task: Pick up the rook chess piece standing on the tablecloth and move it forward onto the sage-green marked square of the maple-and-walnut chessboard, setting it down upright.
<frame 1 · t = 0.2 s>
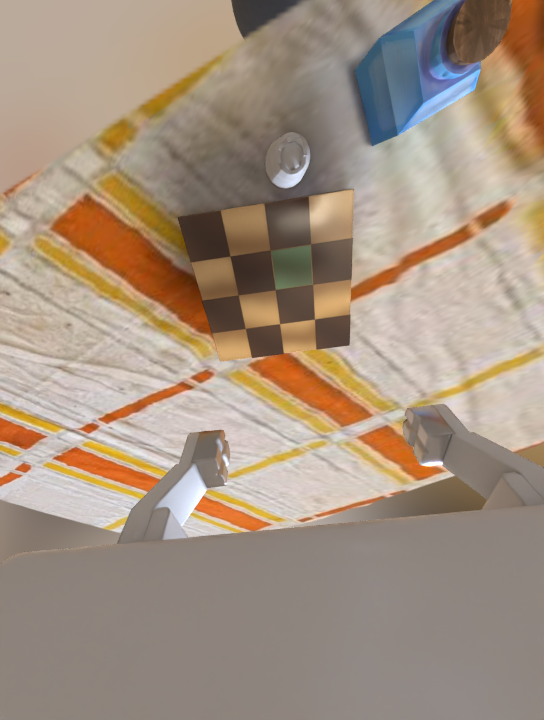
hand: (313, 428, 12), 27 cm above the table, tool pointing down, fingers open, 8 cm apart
perfume bottle: (394, 91, 25), on the table
chessboard: (275, 287, 36), on the table
rook chess piece: (285, 164, 28), on the table
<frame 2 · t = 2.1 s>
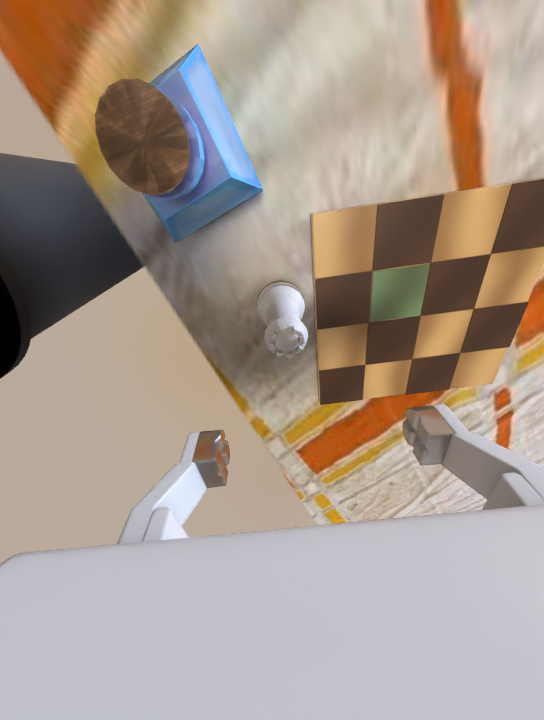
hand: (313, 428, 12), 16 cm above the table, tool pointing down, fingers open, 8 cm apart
perfume bottle: (206, 167, 19), on the table
chessboard: (415, 311, 26), on the table
rook chess piece: (280, 302, 25), on the table
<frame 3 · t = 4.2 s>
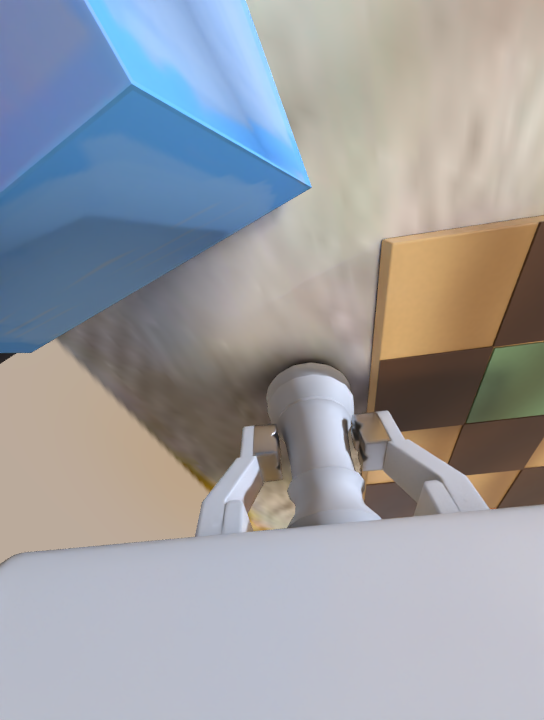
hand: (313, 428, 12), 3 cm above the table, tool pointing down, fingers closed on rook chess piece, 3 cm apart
perfume bottle: (156, 139, 8), on the table
chessboard: (540, 400, 15), on the table
rook chess piece: (306, 389, 14), on the table, touching gripper
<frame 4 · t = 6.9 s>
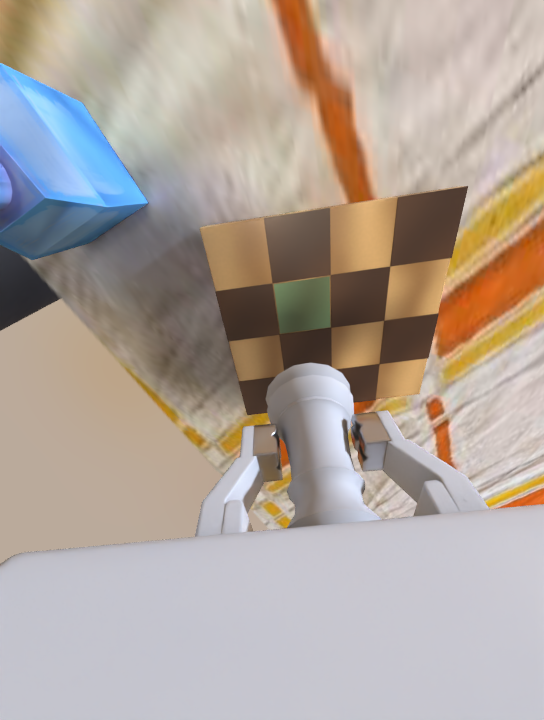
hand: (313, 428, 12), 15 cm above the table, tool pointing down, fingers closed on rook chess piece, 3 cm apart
perfume bottle: (87, 181, 19), on the table
chessboard: (328, 323, 26), on the table
rook chess piece: (306, 389, 14), point 12 cm above the table, touching gripper
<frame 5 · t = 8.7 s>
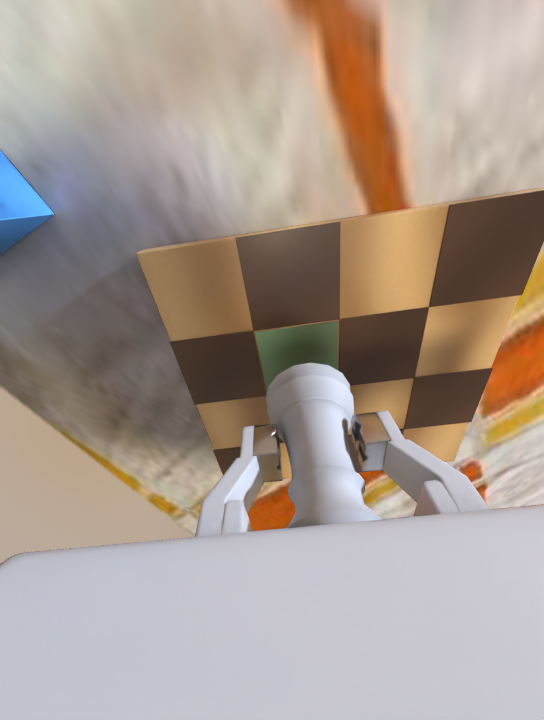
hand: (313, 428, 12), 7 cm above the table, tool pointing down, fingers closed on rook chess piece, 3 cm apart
chessboard: (335, 377, 18), on the table
rook chess piece: (306, 389, 14), point 4 cm above the table, touching gripper
when the fingers open (4 cm above the table, at t = 9.8 s): rook chess piece stays where it is, resting on chessboard.
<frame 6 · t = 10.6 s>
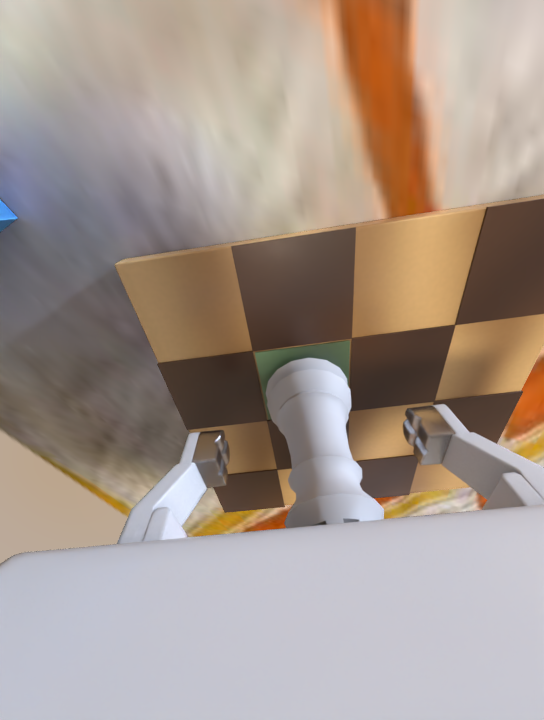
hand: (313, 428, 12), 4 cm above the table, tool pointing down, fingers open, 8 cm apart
chessboard: (344, 399, 17), on the table
rook chess piece: (305, 384, 15), point 1 cm above the table, touching chessboard
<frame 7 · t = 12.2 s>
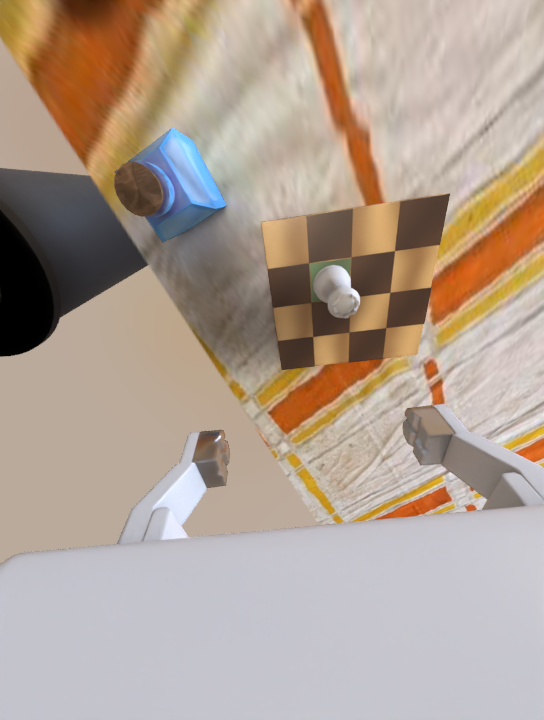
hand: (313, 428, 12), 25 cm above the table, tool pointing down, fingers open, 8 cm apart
perfume bottle: (187, 190, 28), on the table
chessboard: (348, 295, 34), on the table
rook chess piece: (330, 282, 32), point 1 cm above the table, touching chessboard
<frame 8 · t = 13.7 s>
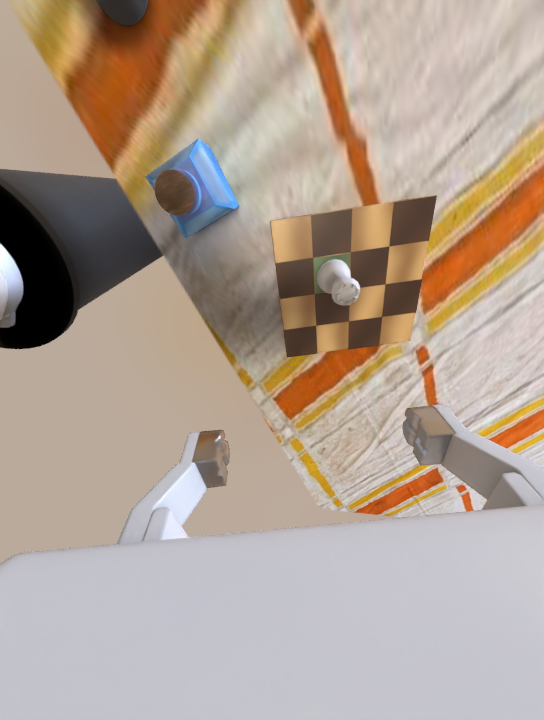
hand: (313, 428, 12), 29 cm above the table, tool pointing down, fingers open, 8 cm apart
perfume bottle: (203, 192, 31), on the table
chessboard: (347, 286, 38), on the table
rook chess piece: (331, 275, 36), point 1 cm above the table, touching chessboard
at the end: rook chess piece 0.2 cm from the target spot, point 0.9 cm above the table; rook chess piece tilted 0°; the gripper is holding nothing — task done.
